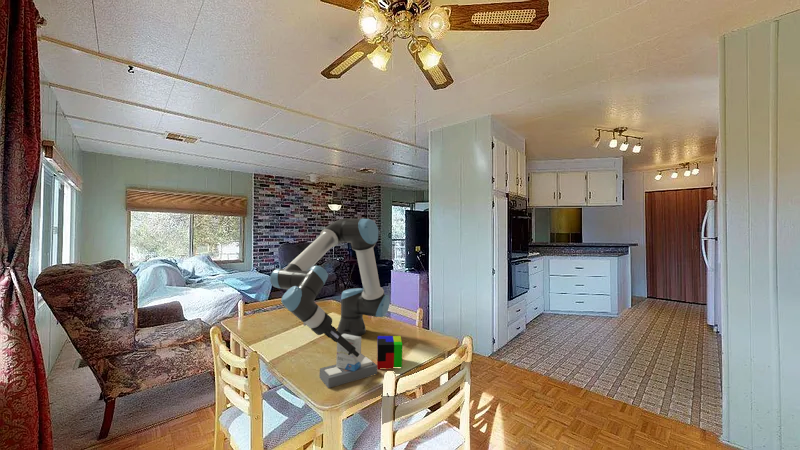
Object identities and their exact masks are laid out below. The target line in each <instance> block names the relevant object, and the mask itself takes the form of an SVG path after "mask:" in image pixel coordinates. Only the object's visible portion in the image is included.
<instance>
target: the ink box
mask: <svg viewBox="0 0 800 450" xmlns="http://www.w3.org/2000/svg"><path fill="white" fill-rule="evenodd" d="M341 336H342V337H343V338H345V339H346V340H347V341H348V342H349V343H350V344H351V345H353V346H354V347H355V348H356V349H357V350H358V351H359V352H360V353H361V354H362V336H354V335H349V334H342V335H341ZM348 353H349V352H348V351H347V350H346V349H345V348H344V347H342V346H341V345H340V344H339V343H338V342H337V343H336V359H335V360H336V362H335V363H336V364H335V365H336V367H338V368H342V369H346V370H350V371H356V370H357V369H358V368H360V367H361V363H360V362H359V361H358V360H356V359H355V358H354V357H353V356H352V355H351V354H350V355H348Z"/></svg>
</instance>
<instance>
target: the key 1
mask: <svg viewBox="0 0 800 450" xmlns="http://www.w3.org/2000/svg"><path fill="white" fill-rule="evenodd" d="M324 371H325V372H326V373H327V374H328V375H329V376H330V375H334V374H338V373H342V371H341V370H340V369H339V368H338V367H334V368H330V369H326V370H324Z"/></svg>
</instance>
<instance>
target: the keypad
mask: <svg viewBox="0 0 800 450" xmlns="http://www.w3.org/2000/svg"><path fill="white" fill-rule="evenodd" d="M334 367H336V364H333V365H329V366H324V367H321V368H319V379H320V380H321V381H322V382H323V384H324V385H325V386H326V387H327V388H328V389H330V388H333V387H334V388H335V387H337V386H341V385H343V384H344V385H346V384H348V383H351V382H355V381H357V380H361V379H362V380H363V379H365V377H366V378H369V377H372V376H371V375H373V376H375V375H374V374H376V375H377V374H378V369H377V363H375V362H373V361H372V365H368V366H364V367H360V368H358V369H357V370H356V371H350V370H349V371H344V370H343V369H342V368H339V369H340V370H341V371H342V373H338V374H334V375H330V376H329V375H328V374H327V373H326V372H325V371H324V370H326V369H330V368H334ZM368 376H369V377H368Z"/></svg>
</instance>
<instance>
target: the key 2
mask: <svg viewBox="0 0 800 450" xmlns="http://www.w3.org/2000/svg"><path fill="white" fill-rule="evenodd" d="M372 362H373V361H372V360H371V359H370V358H368V357H367V356H365V358H364V359H363V360H362V362H361V367H364V366H368V365H372Z"/></svg>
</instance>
